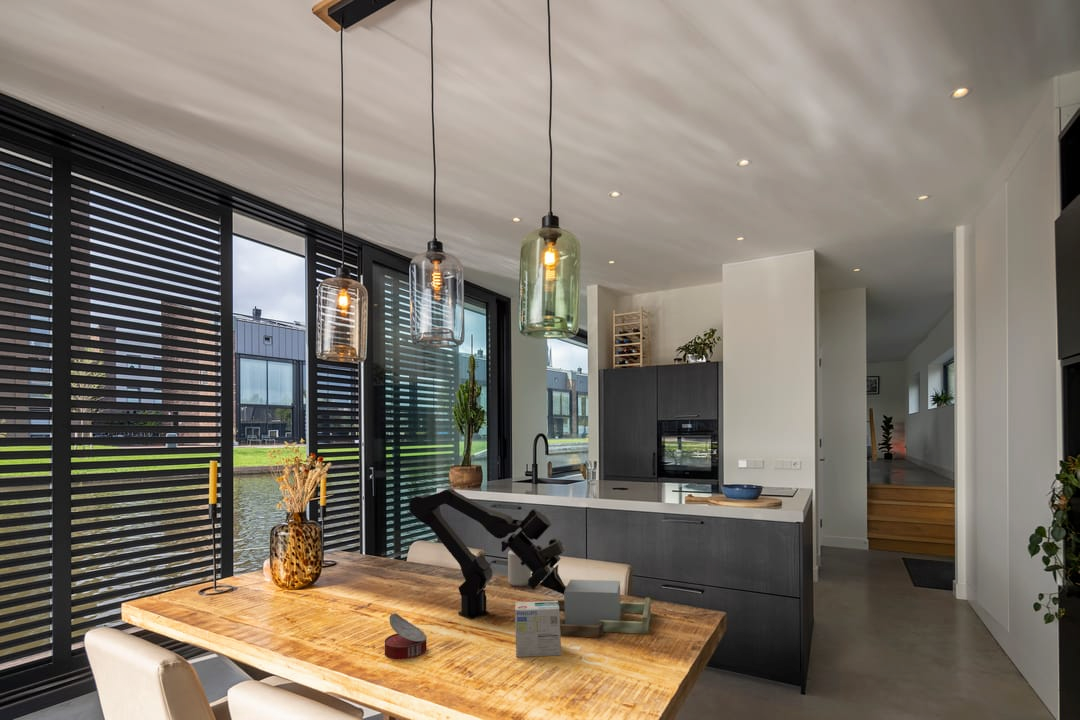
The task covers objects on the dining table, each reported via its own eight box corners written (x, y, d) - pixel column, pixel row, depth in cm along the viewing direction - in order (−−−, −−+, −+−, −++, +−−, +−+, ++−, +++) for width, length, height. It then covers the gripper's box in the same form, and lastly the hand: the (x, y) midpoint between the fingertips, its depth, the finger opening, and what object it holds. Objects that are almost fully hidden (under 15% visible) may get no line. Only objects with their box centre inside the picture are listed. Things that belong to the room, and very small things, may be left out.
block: (565, 626, 161) (564, 591, 162) (571, 612, 172) (570, 579, 173) (618, 628, 158) (617, 592, 159) (620, 614, 170) (619, 580, 171)
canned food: (403, 663, 150) (416, 621, 155) (429, 669, 144) (442, 624, 149) (367, 653, 143) (381, 609, 148) (393, 658, 137) (407, 612, 142)
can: (530, 586, 200) (529, 549, 201) (507, 587, 200) (507, 549, 201) (531, 580, 207) (530, 544, 208) (509, 581, 207) (508, 545, 209)
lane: (527, 633, 155) (527, 617, 156) (548, 603, 181) (548, 589, 182) (646, 640, 149) (646, 623, 149) (651, 607, 175) (650, 593, 175)
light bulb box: (560, 645, 147) (558, 599, 148) (561, 656, 140) (560, 608, 141) (515, 647, 147) (515, 601, 148) (515, 658, 140) (514, 609, 141)
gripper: (538, 537, 161) (581, 581, 157) (552, 525, 179) (591, 564, 176) (510, 567, 162) (552, 611, 158) (527, 552, 180) (565, 591, 177)
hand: (566, 593), depth 167 cm, fingers closed
